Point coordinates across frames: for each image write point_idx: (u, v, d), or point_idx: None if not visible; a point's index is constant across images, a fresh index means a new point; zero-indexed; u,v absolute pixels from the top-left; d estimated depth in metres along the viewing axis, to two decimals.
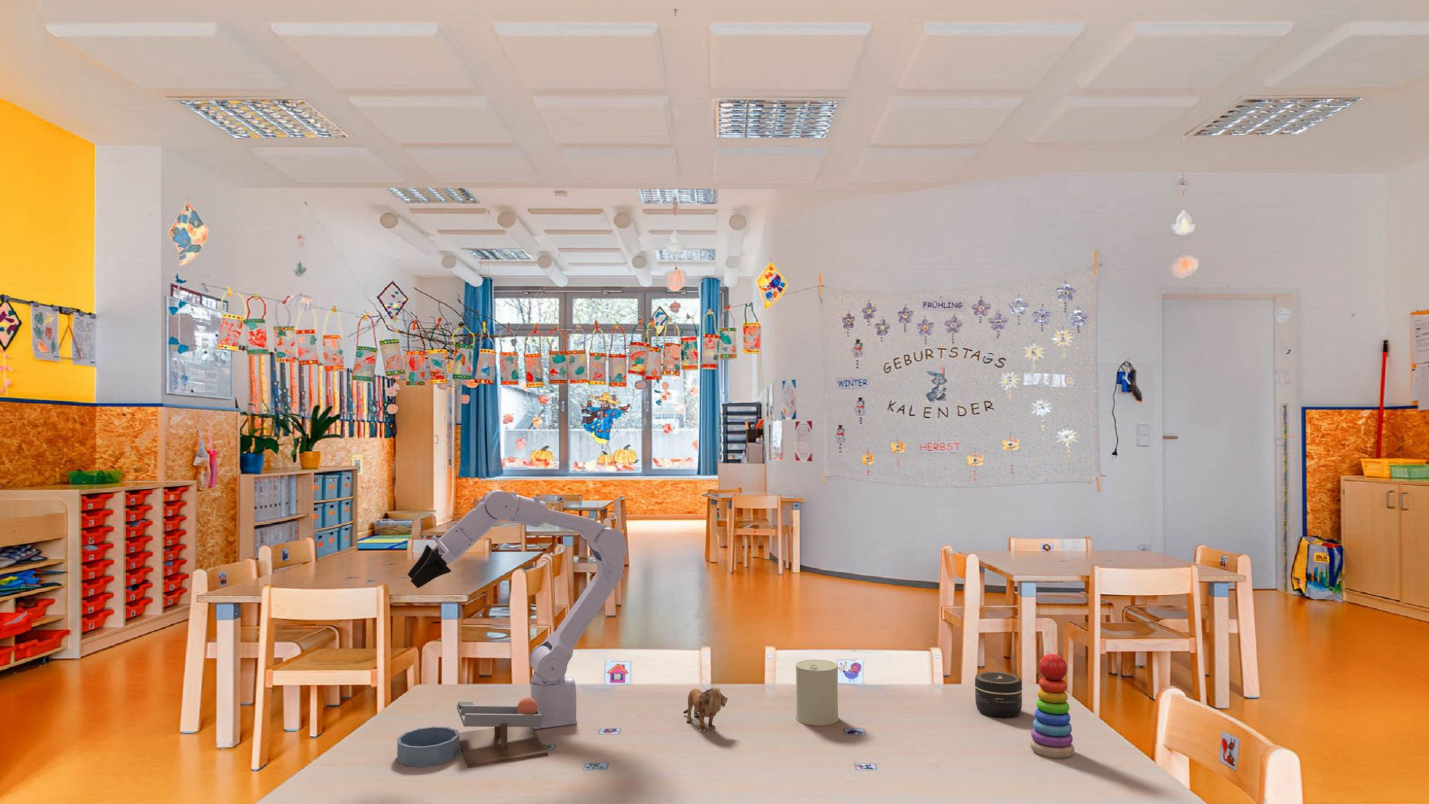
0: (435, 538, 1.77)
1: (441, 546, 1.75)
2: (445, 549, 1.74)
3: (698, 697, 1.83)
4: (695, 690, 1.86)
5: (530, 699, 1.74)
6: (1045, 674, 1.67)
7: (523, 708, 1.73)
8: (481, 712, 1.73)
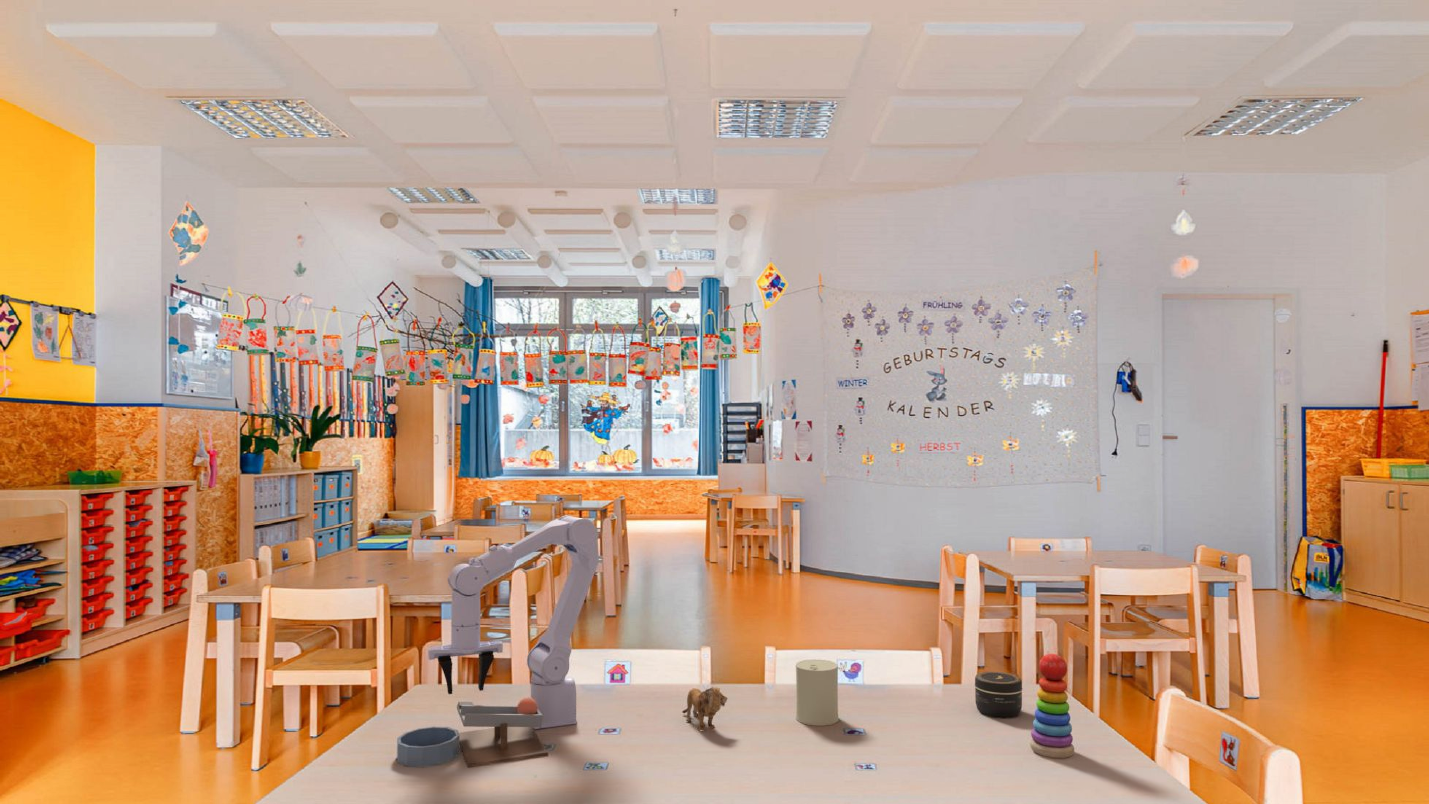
0: (473, 650, 1.74)
1: (484, 648, 1.77)
2: (493, 646, 1.78)
3: (698, 697, 1.83)
4: (694, 690, 1.87)
5: (530, 699, 1.74)
6: (1045, 674, 1.67)
7: (523, 708, 1.73)
8: (481, 712, 1.73)
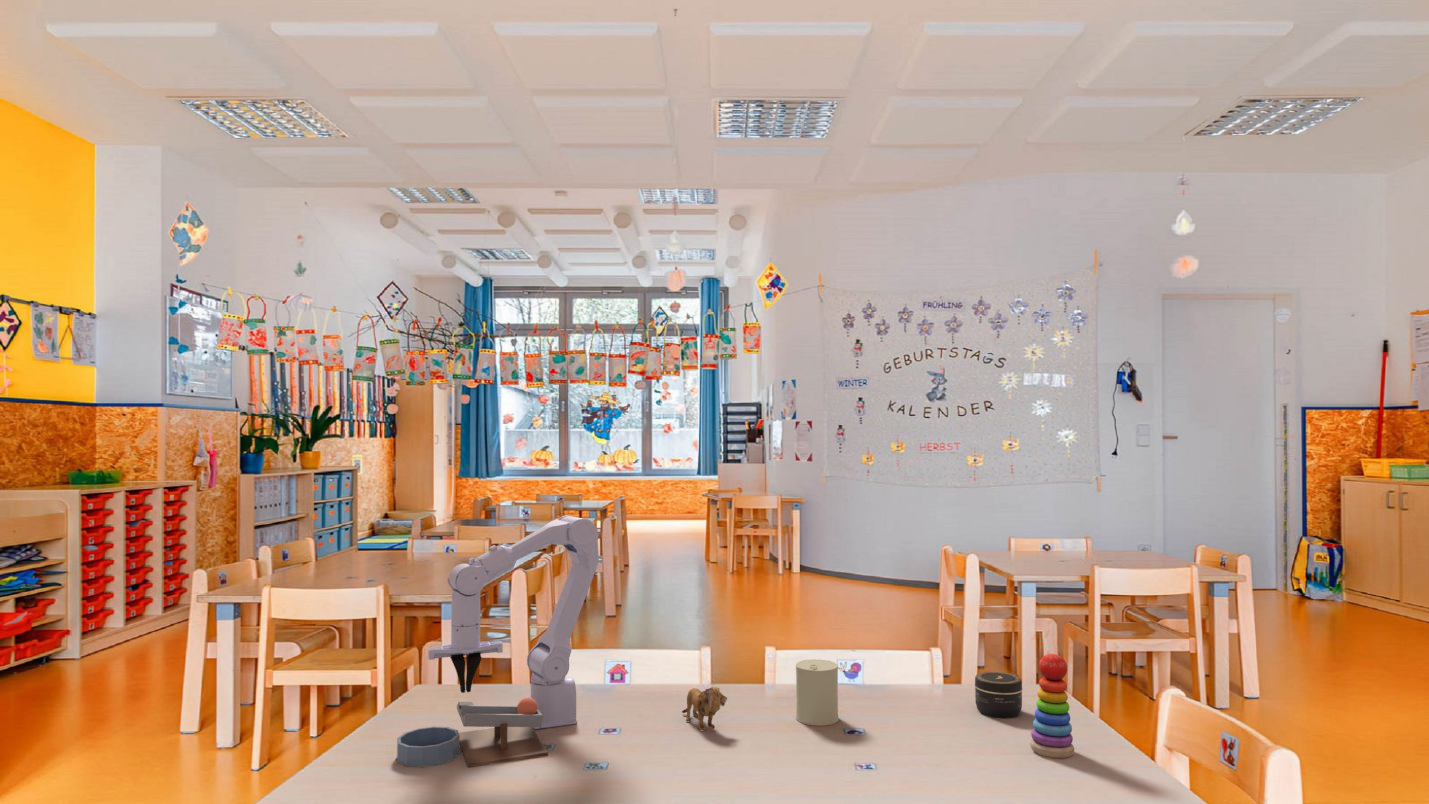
0: (473, 650, 1.74)
1: (484, 648, 1.77)
2: (493, 646, 1.78)
3: (697, 696, 1.83)
4: (694, 689, 1.87)
5: (530, 699, 1.74)
6: (1045, 674, 1.67)
7: (523, 708, 1.73)
8: (481, 712, 1.73)
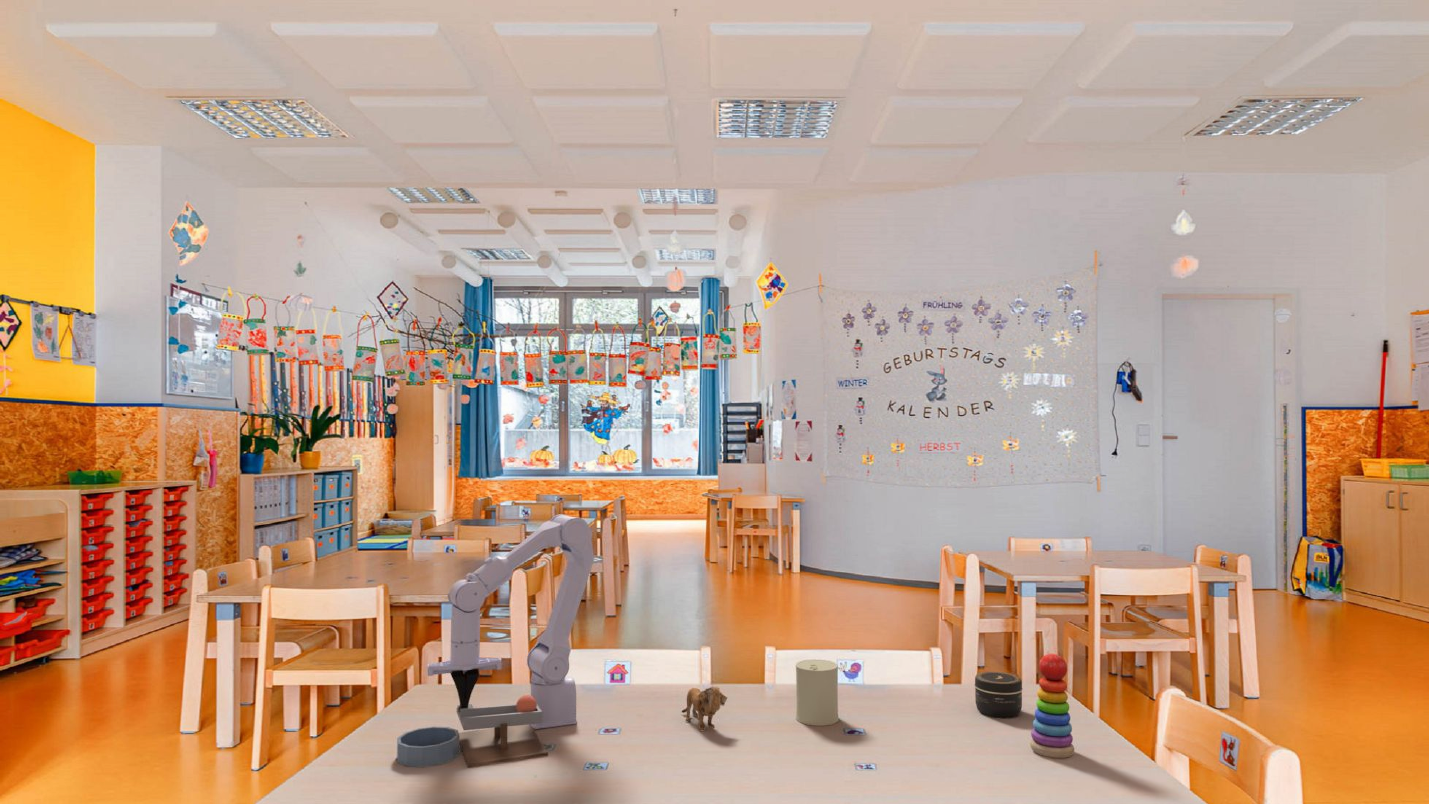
0: (472, 667, 1.74)
1: (483, 665, 1.77)
2: (492, 662, 1.78)
3: (697, 696, 1.84)
4: (694, 689, 1.87)
5: (528, 696, 1.74)
6: (1045, 674, 1.67)
7: (522, 706, 1.73)
8: (481, 714, 1.73)
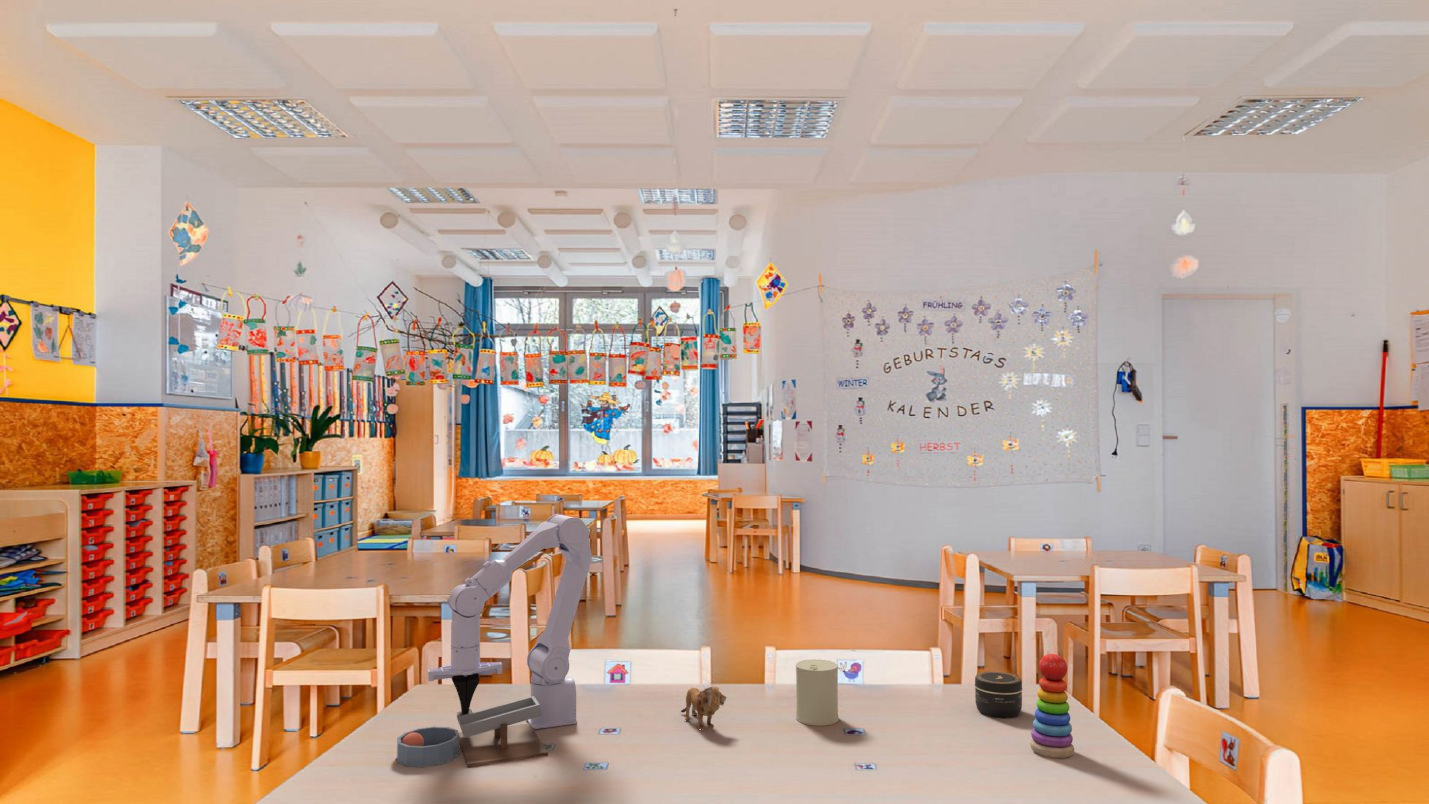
0: (472, 672, 1.74)
1: (484, 669, 1.77)
2: (493, 667, 1.78)
3: (697, 696, 1.84)
4: (693, 689, 1.87)
5: (423, 741, 1.66)
6: (1045, 674, 1.67)
7: (413, 740, 1.64)
8: (480, 717, 1.73)
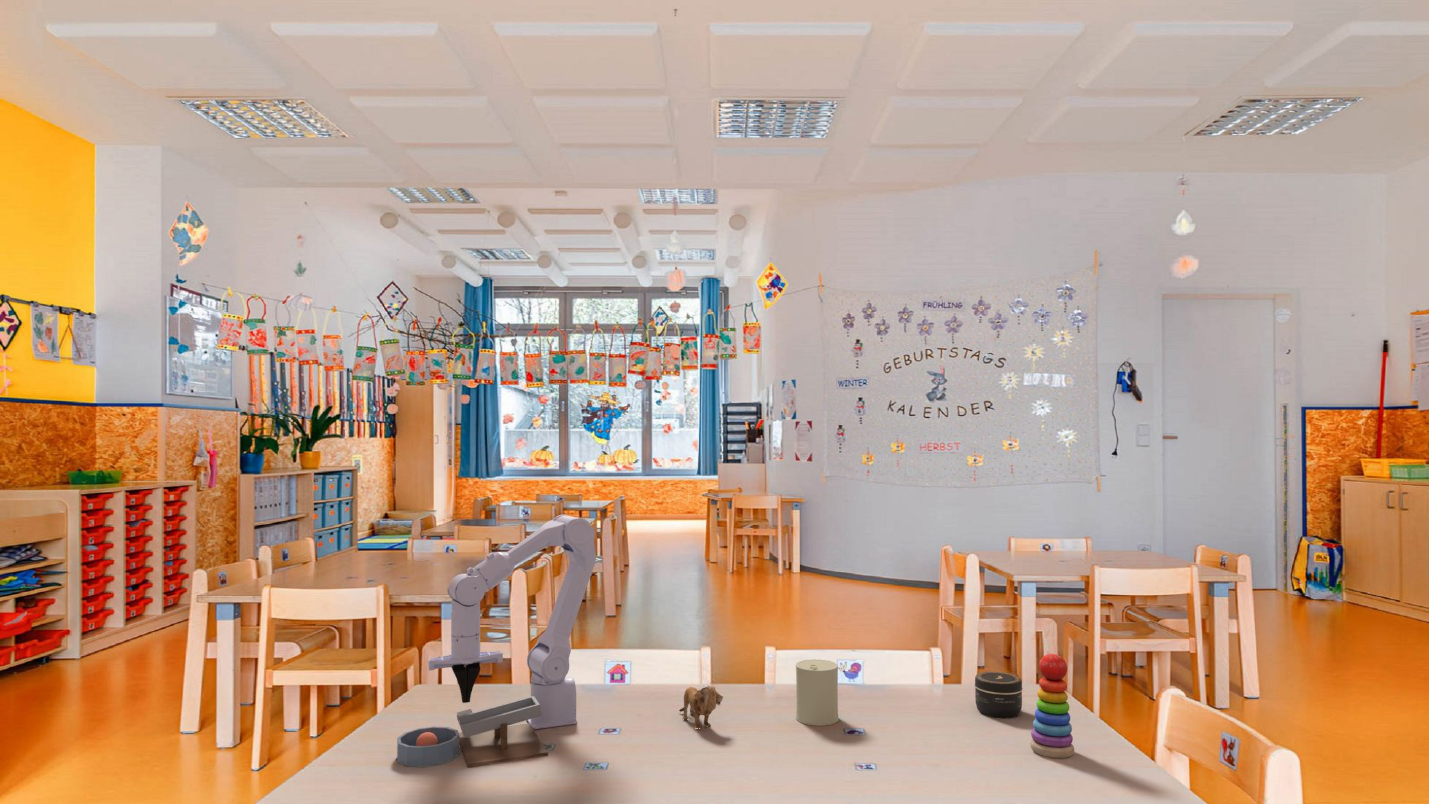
0: (473, 660, 1.74)
1: (484, 658, 1.77)
2: (493, 656, 1.78)
3: (694, 695, 1.84)
4: (691, 688, 1.88)
5: None
6: (1045, 674, 1.67)
7: (431, 740, 1.66)
8: (480, 717, 1.73)
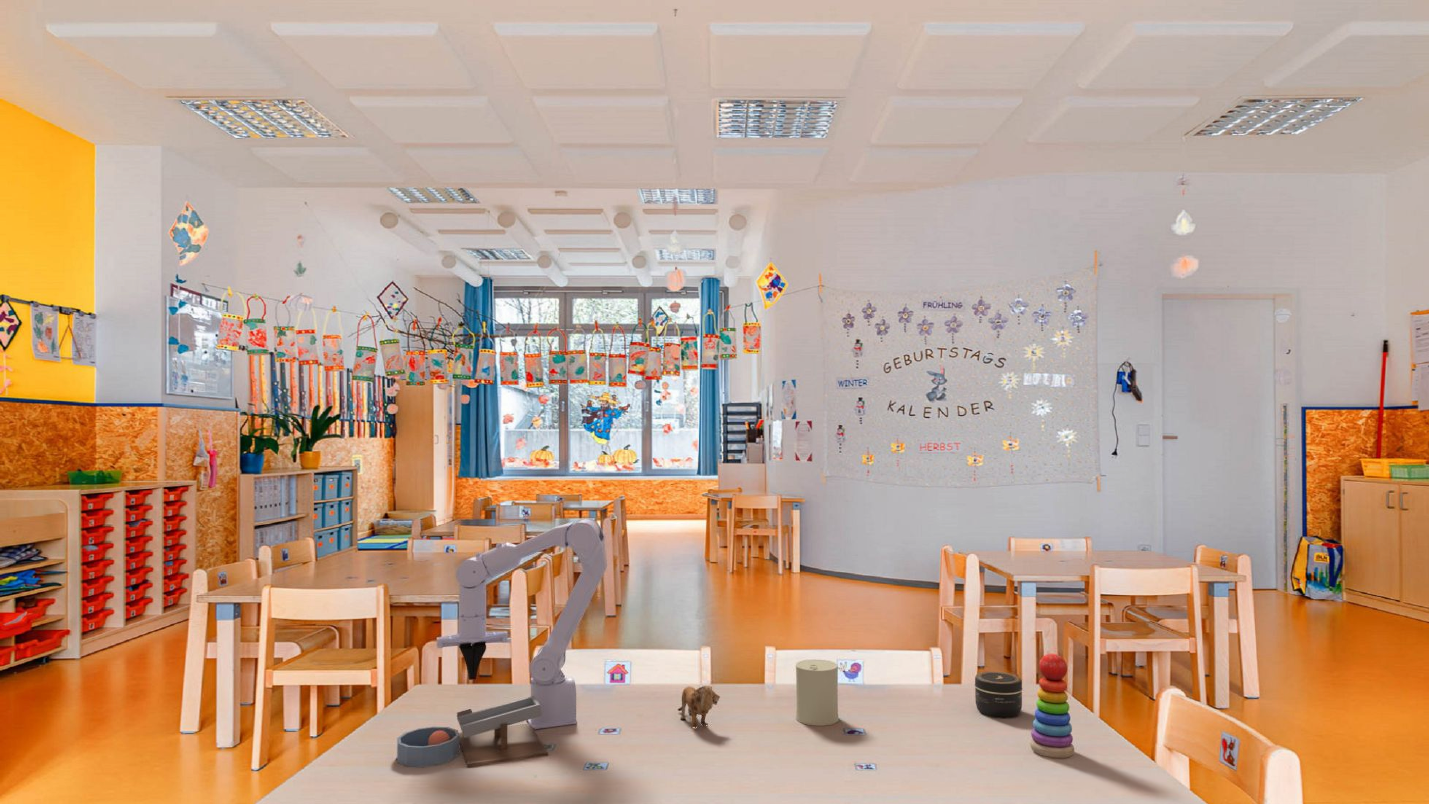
0: (479, 639, 1.83)
1: (490, 637, 1.86)
2: (498, 635, 1.87)
3: (691, 695, 1.85)
4: (689, 688, 1.88)
5: None
6: (1045, 674, 1.67)
7: None
8: (480, 717, 1.73)
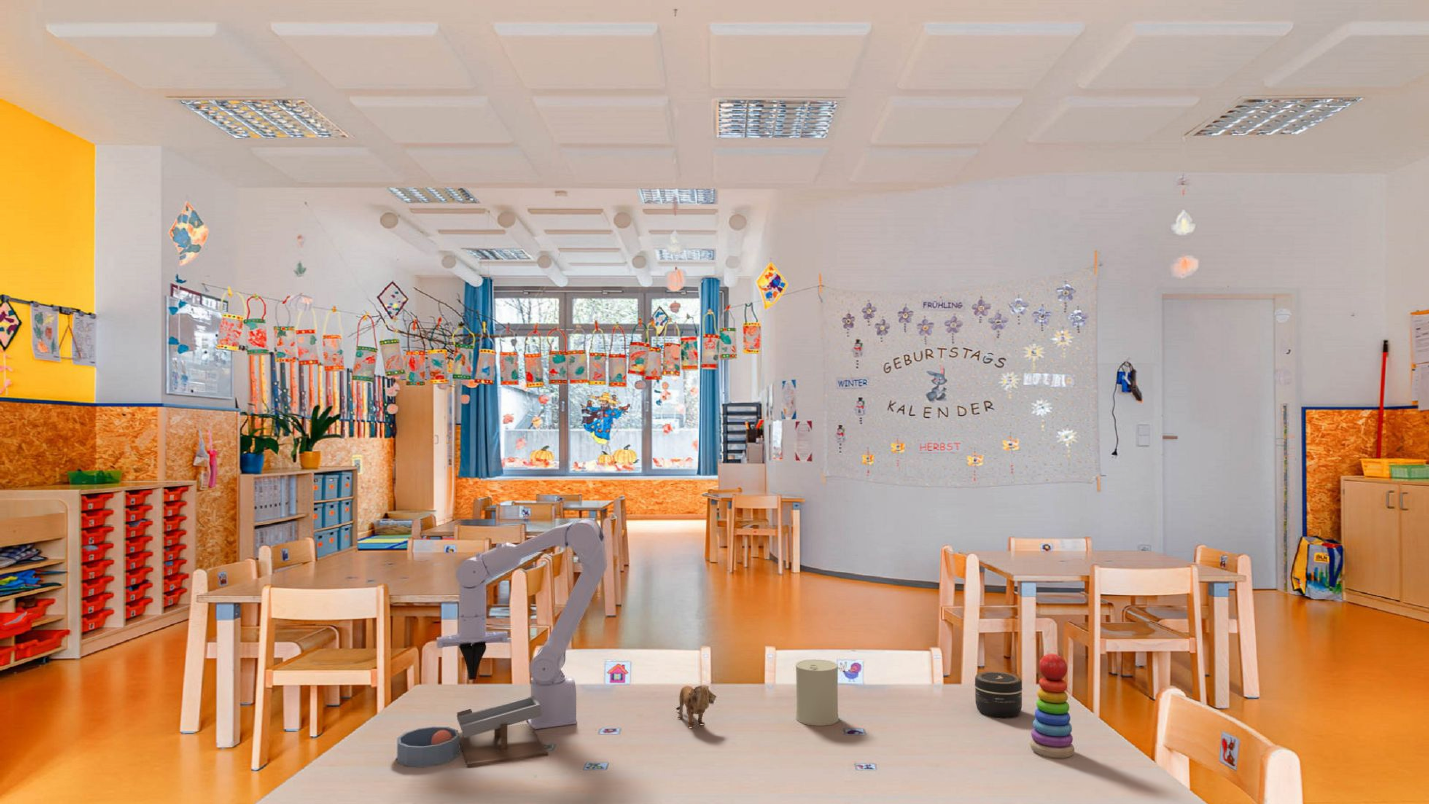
0: (479, 639, 1.83)
1: (490, 637, 1.86)
2: (498, 635, 1.87)
3: (688, 694, 1.85)
4: (686, 687, 1.88)
5: None
6: (1045, 674, 1.67)
7: None
8: (480, 717, 1.73)
